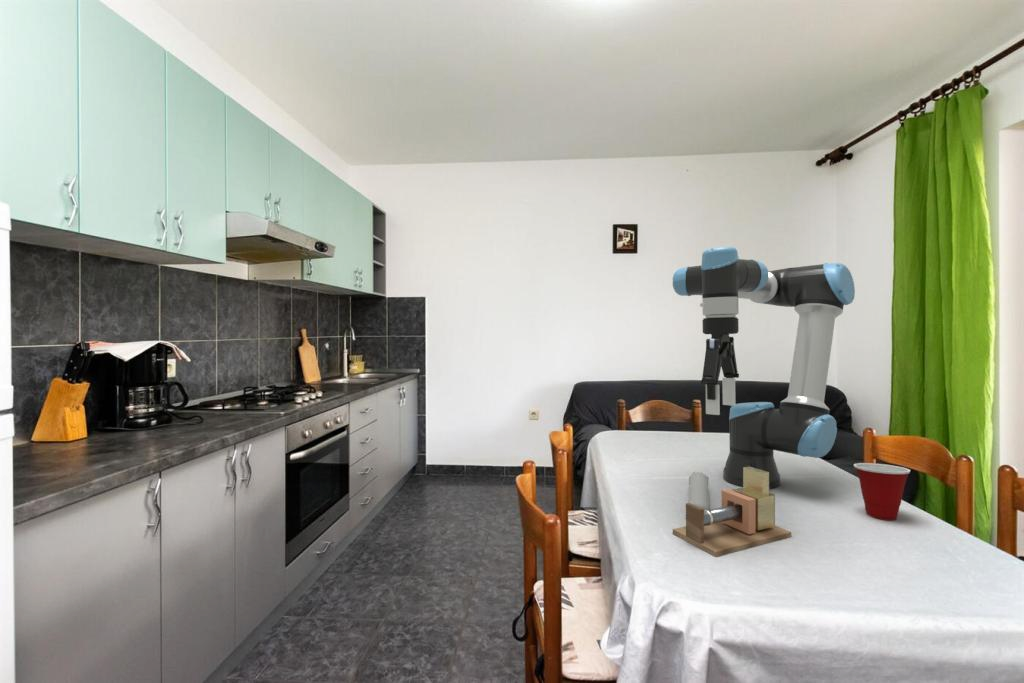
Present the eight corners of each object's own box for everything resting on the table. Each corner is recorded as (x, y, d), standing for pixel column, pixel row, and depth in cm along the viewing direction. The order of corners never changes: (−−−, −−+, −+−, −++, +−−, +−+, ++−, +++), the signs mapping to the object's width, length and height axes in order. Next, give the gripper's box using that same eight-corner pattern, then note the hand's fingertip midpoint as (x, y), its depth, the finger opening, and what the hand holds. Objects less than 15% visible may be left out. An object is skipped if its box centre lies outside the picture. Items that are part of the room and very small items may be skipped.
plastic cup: (893, 508, 119) (893, 460, 119) (921, 526, 109) (921, 473, 108) (844, 506, 121) (844, 458, 121) (867, 522, 111) (867, 471, 110)
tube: (714, 508, 111) (711, 476, 134) (690, 498, 113) (692, 468, 136) (706, 528, 112) (705, 493, 135) (683, 518, 113) (685, 485, 137)
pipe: (759, 509, 110) (759, 496, 110) (771, 513, 108) (771, 500, 108) (689, 525, 102) (689, 511, 102) (700, 530, 99) (700, 515, 99)
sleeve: (747, 515, 112) (747, 465, 111) (774, 526, 105) (774, 473, 105) (732, 519, 110) (732, 467, 109) (758, 530, 103) (758, 476, 103)
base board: (744, 517, 115) (744, 483, 115) (791, 536, 104) (791, 499, 104) (672, 533, 106) (672, 497, 106) (715, 556, 95) (715, 516, 95)
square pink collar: (728, 520, 109) (728, 489, 109) (755, 532, 103) (755, 499, 103) (721, 522, 109) (721, 490, 108) (748, 534, 102) (748, 500, 102)
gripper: (718, 317, 121) (719, 400, 122) (685, 317, 102) (686, 416, 102) (750, 316, 117) (751, 402, 117) (722, 316, 97) (724, 420, 98)
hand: (721, 409), depth 110 cm, fingers open, 13 cm apart
